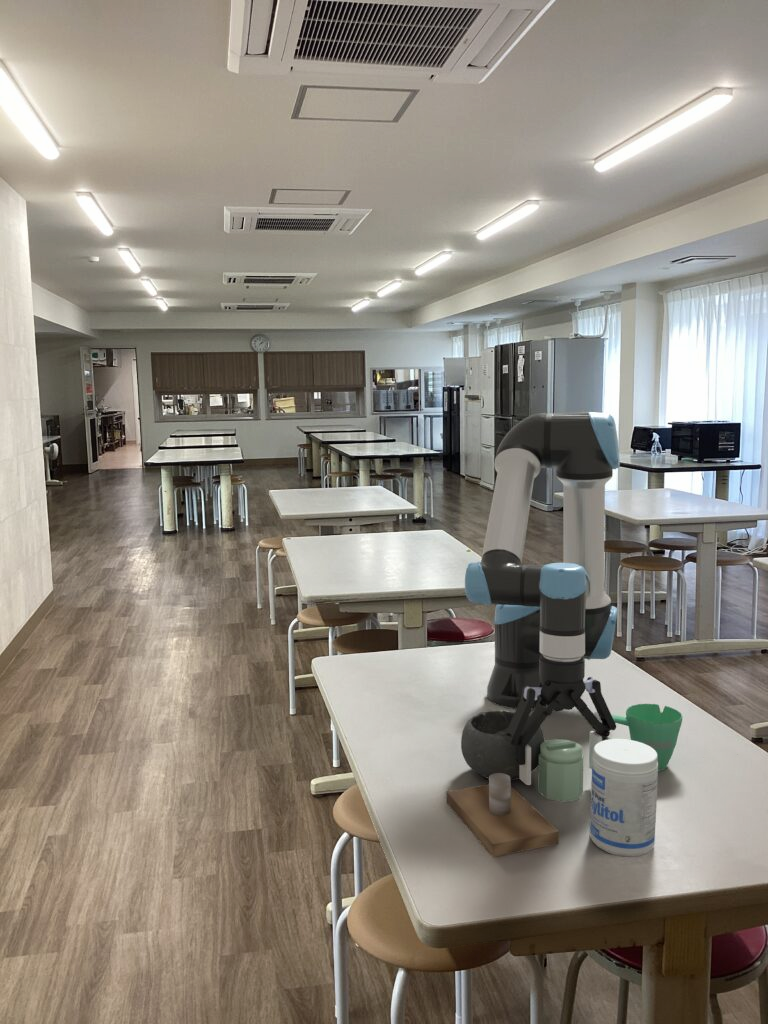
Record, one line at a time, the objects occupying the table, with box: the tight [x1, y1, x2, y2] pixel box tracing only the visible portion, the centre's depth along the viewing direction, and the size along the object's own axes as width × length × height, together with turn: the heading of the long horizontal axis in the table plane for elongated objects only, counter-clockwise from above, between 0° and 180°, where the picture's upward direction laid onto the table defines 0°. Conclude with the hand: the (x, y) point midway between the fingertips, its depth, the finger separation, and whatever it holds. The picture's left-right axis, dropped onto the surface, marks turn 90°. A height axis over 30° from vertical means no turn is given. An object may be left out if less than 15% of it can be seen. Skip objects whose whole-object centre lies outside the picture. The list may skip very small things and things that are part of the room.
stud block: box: [446, 773, 560, 858], centre depth 133 cm, size 11×18×8 cm, turn 18°
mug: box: [600, 703, 683, 772], centre depth 152 cm, size 15×10×10 cm
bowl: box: [460, 710, 545, 781], centre depth 149 cm, size 15×15×10 cm
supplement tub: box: [589, 738, 659, 857], centre depth 125 cm, size 10×10×15 cm
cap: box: [538, 738, 584, 803], centre depth 143 cm, size 7×7×9 cm
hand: (560, 775), depth 142 cm, fingers open, 13 cm apart
